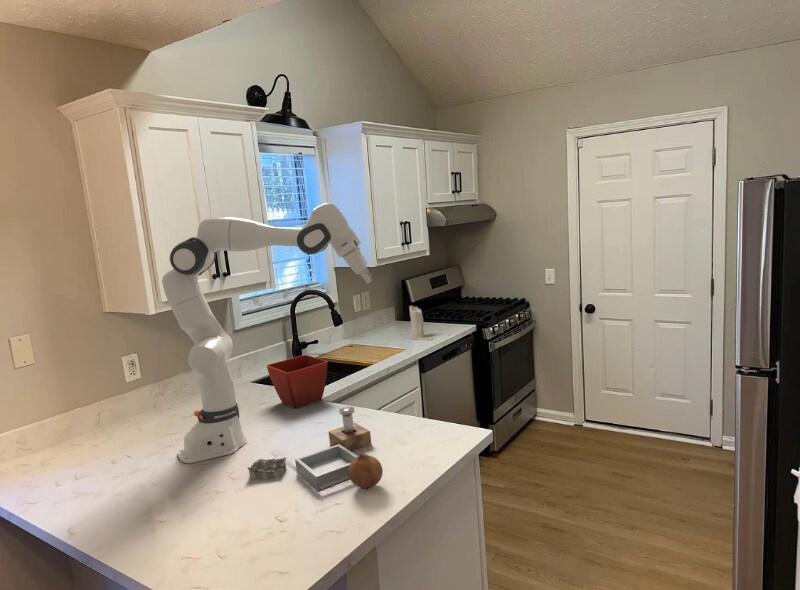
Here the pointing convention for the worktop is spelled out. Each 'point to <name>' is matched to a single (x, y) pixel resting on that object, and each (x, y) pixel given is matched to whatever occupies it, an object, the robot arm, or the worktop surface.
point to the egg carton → (265, 465)
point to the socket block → (350, 438)
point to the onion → (365, 471)
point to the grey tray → (327, 476)
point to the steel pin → (347, 419)
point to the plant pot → (299, 380)
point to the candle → (417, 324)
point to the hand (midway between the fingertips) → (369, 280)
